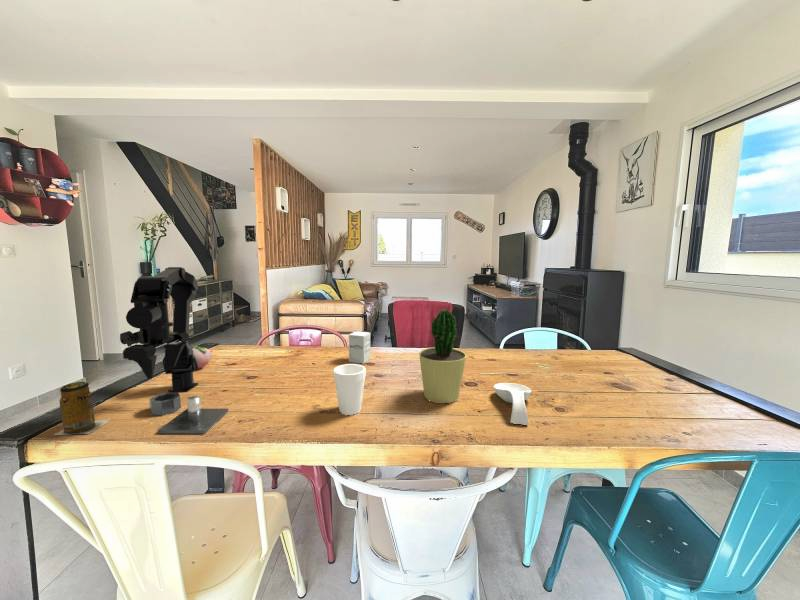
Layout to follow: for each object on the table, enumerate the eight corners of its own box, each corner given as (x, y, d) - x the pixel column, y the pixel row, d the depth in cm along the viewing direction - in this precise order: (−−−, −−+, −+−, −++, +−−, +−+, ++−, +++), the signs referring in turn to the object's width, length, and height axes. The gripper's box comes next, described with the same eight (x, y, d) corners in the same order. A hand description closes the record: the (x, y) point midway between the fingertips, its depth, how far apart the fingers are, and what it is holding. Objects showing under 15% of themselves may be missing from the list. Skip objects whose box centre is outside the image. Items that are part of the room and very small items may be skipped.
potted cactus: (430, 383, 118) (432, 303, 114) (470, 393, 110) (474, 307, 106) (409, 399, 105) (411, 309, 101) (454, 411, 97) (457, 314, 93)
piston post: (187, 411, 96) (185, 389, 95) (228, 411, 96) (226, 389, 95) (158, 433, 84) (155, 408, 83) (204, 433, 84) (202, 408, 83)
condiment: (77, 421, 89) (72, 380, 88) (110, 420, 90) (106, 379, 89) (52, 436, 82) (45, 391, 81) (88, 434, 83) (82, 390, 81)
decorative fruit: (180, 371, 128) (178, 346, 127) (199, 364, 136) (197, 341, 135) (199, 373, 126) (197, 348, 124) (216, 366, 133) (215, 343, 132)
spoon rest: (491, 390, 114) (492, 370, 113) (526, 393, 111) (528, 373, 110) (498, 424, 91) (499, 400, 90) (543, 429, 88) (544, 404, 88)
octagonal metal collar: (162, 404, 100) (161, 392, 99) (185, 404, 100) (184, 392, 99) (145, 415, 93) (143, 402, 92) (169, 415, 93) (168, 402, 92)
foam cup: (332, 405, 100) (331, 365, 98) (361, 401, 103) (361, 362, 102) (337, 420, 91) (336, 376, 90) (369, 415, 95) (369, 372, 93)
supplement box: (348, 362, 141) (348, 334, 139) (356, 357, 148) (355, 330, 146) (363, 364, 138) (363, 335, 137) (370, 359, 145) (370, 332, 144)
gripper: (152, 314, 102) (157, 361, 104) (98, 327, 83) (105, 385, 85) (188, 314, 102) (192, 361, 104) (142, 328, 83) (148, 385, 86)
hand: (161, 372), depth 95 cm, fingers open, 9 cm apart
